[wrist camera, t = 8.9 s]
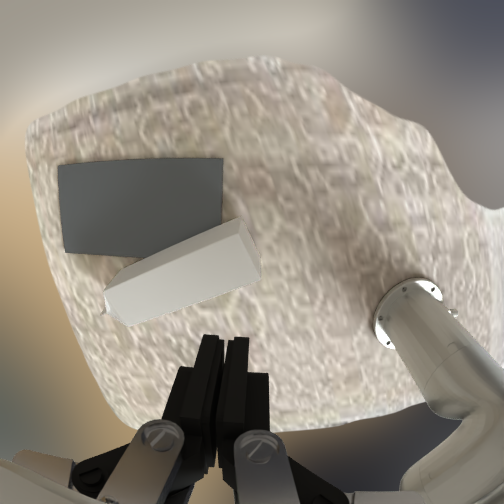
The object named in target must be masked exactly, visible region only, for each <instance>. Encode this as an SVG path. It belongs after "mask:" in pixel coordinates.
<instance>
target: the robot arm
mask: <svg viewBox="0 0 504 504" xmlns="http://www.w3.org/2000/svg"><path fill="white" fill-rule="evenodd" d="M457 316H458V311H457V309H450V310H449V309H448V308H447V307H446V306H445V305H443V300H442V294H441V292H440V290H439V288H438V287H437V286H436V285H435V284H434V283H433V282H431V281H430V280H428V279H425V278H412V279H408V280H405V281H403V282H401V283H399V284H398V285H396V286H395V287H393V288H392V289H391V290H390V291H389V292H388V293H387V294H386V295H385V296H384V297H383V299H382V300H381V302H380V303H379V305H378V307H377V309H376V312H375V315H374V320H373V330H374V333H375V335H376V337H377V339H378V340H379V342H380V343H381V344H382V345H384V346H385V347H388V348H391V349H396V351H397V352H398V354H399V356H400V357H401V359H402V361H403V362H404V364H405V366H406V367H407V369H408V371H409V373H410V374H411V376H412V378H413V379H414V381H415V383H416V385H417V386H418V388H419V390H420V392H421V393H422V395H423V397H424V399H425V400H426V402H427V404H428V406H429V407H430V409H431V410H432V411H433V412H434V413H436V414H437V415H439V416H441V417H445V418H449V419H459V420H462V423H461V425H460V426H459V427H458V428H457V429H456V430H455V431H454V432H453V433H452V434H451V435H450V436H449V437H448V438H447V439H446V440H445V441H443V442H442V443H441V444H440V445H439V446H437V447H436V448H435V449H434V450H432V451H431V452H430V453H428V454H427V455H426V456H424V457H423V458H422V459H421V460H419V461H418V462H417V463H415V464H414V465H413V466H412V467H411V468H410V469H409V470H408V471H407V472H406V473H405V475H404V476H403V478H402V480H401V482H400V491H394V492H357V491H356V492H354V493H343V492H342V491H341V490H339V489H338V488H336V487H334V486H333V485H331V484H329V483H328V482H326V481H325V480H323V479H321V478H320V477H318V476H317V475H315V474H314V473H312V472H311V471H309V470H308V469H306V468H305V467H303V466H302V465H300V464H299V463H297V462H296V461H294V460H293V459H292V458H290V457H288V456H287V452H286V449H285V445H284V443H283V441H282V439H281V438H280V437H279V436H277V435H276V434H274V433H272V432H270V415H269V374H268V373H254V372H247V371H248V353H249V337H234V340H228V346H227V352H226V358H225V364H224V340H221V339H219V336H218V335H207V334H204V335H203V338H202V341H201V344H200V348H199V351H198V354H197V358H196V361H195V365H194V368H193V367H184V366H180V367H179V370H178V372H177V375H176V378H175V381H174V384H173V387H172V390H171V392H170V395H169V398H168V401H167V404H166V407H165V410H164V413H163V416H162V419H158V420H152V421H149V422H147V423H145V424H143V425H142V426H141V427H140V428H139V430H138V431H137V433H136V434H135V436H134V438H133V439H132V441H131V443H129V444H126V445H124V446H121V447H119V448H116V449H114V450H111V451H109V452H106V453H103V454H100V455H98V456H95V457H92V458H89V459H87V460H84V461H82V462H80V463H78V462H74V461H73V459H68V458H61V457H57V456H53V455H48V454H43V453H39V452H36V451H31V450H21V451H19V452H18V453H16V454H15V456H14V457H13V459H12V462H10V461H7V460H4V459H1V458H0V504H188V502H189V499H190V496H191V494H192V491H193V489H194V485H195V482H197V481H199V480H200V479H202V478H203V477H204V474H208V468H209V467H214V465H215V459H216V451H218V463H219V468H222V472H223V480H224V481H225V482H226V483H227V484H228V485H229V486H230V487H232V488H233V492H234V501H235V504H504V369H503V368H502V367H501V366H500V365H499V364H498V363H497V362H496V361H495V360H494V359H493V358H492V357H491V356H490V354H489V353H488V352H487V351H486V350H485V349H484V348H483V347H482V346H481V345H480V344H479V343H478V342H477V341H476V339H475V338H474V337H473V336H472V335H471V334H470V333H469V332H468V331H467V330H466V329H465V328H464V327H463V326H462V325H461V324H460V323H459V322H458V321H457V320H456V319H455V318H456V317H457Z"/></svg>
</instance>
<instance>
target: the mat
mask: <svg viewBox="0 0 504 504" xmlns="http://www.w3.org/2000/svg"><path fill="white" fill-rule="evenodd" d="M222 180H223V159H220V158H162V159H133V160H115V161H101V162H89V163H78V164H68V165H59V166H58V186H59V202H60V214H61V224H62V233H63V240H64V248H65V253H78V254H93V255H108V256H123V257H139V258H147V257H149V256H151V255H153V254H156V253H158V252H160V251H162V250H164V249H167V248H169V247H171V246H173V245H175V244H178V243H180V242H182V241H184V240H187V239H189V238H191V237H193V236H196V235H198V234H200V233H202V232H205V231H207V230H209V229H212V228H214V227H216V226H219V225H221V214H222Z"/></svg>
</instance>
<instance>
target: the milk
mask: <svg viewBox="0 0 504 504" xmlns="http://www.w3.org/2000/svg"><path fill="white" fill-rule="evenodd" d="M260 280H261V257H260V254H259V252H258V250H257V248H256V246H255V244H254V242H253V239H252V237H251V235H250V233H249V231H248V229H247V227H246V225H245V223H244V220H243V218H242V217H241V216H240V217H237V218H235V219H233V220H230V221H228V222H226V223H223V224H221V225H219V226H216V227H214V228H212V229H209V230H207V231H205V232H202V233H200V234H198V235H196V236H193V237H191V238H189V239H187V240H184V241H182V242H180V243H178V244H175V245H173V246H171V247H169V248H167V249H164V250H162V251H160V252H158V253H156V254H153V255H151V256H149V257H147V258H145V259H142V260H140V261H138V262H136V263H134V264H132V265H130V266H127V267H125V268H123V269H121V270H120V271H119V272H118V273H117V275H116V276H115V277H114V278H113V280H112V281H111V282H110V283H109V284H108V286H107V287H106V288H105V289H104V291H103V295H104V301H105V306H106V307H105V308H104V310H103V311H102V313H101V314H100V315H101V316H102V315H104V314H109V315H110V316H112V317H113V318H115V319H116V320H118V321H119V322H121V323H122V324H124V325H126V326H127V327H130V326H133V325H136V324H139V323H142V322H145V321H148V320H151V319H154V318H157V317H160V316H163V315H166V314H168V313H171V312H174V311H177V310H180V309H183V308H186V307H189V306H191V305H194V304H197V303H200V302H203V301H205V300H208V299H211V298H214V297H217V296H219V295H222V294H225V293H228V292H230V291H233V290H236V289H239V288H241V287H244V286H247V285H249V284H252V283H255V282H257V281H260Z"/></svg>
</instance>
